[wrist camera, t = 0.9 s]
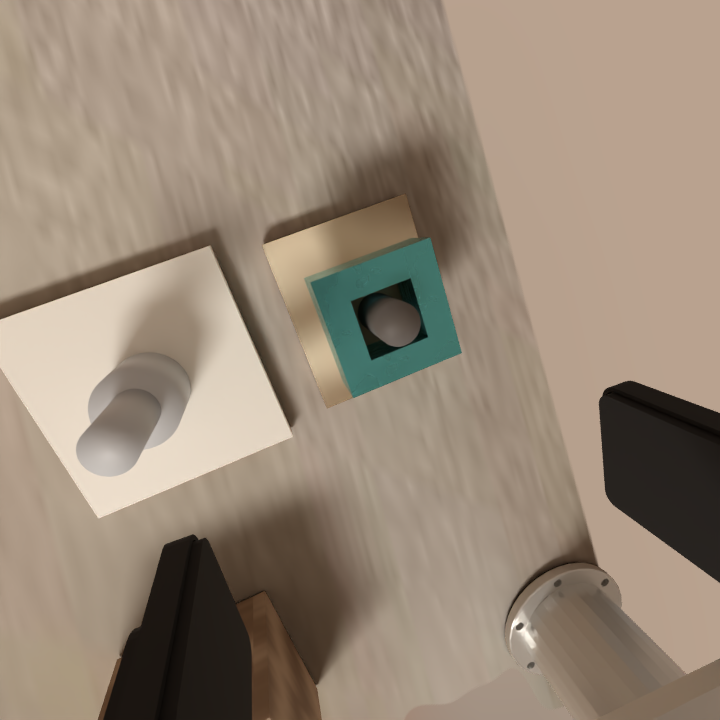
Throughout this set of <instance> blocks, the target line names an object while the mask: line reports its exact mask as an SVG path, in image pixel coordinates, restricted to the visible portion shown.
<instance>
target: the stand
mask: <svg viewBox="0 0 720 720" xmlns="http://www.w3.org/2000/svg"><path fill="white" fill-rule="evenodd" d="M410 238H418V235H417V232H416V228H415V225H414V221H413V217H412V214H411V210H410V207H409V203H408V200H407V196H406V194H403V195H400V196H397V197H394V198H391V199H389V200H386V201H383V202H380V203H378V204H375V205H372V206H369V207H366V208H364V209H361V210H358V211H355V212H352V213H350V214H347V215H344V216H341V217H338V218H336V219H333V220H330V221H327V222H324V223H322V224H319V225H316V226H313V227H311V228H308V229H305V230H302V231H299V232H297V233H294V234H291V235H288V236H285V237H283V238H280V239H277V240H274V241H271V242H269V243H266V244H263V245H262V247H263V249H264V252H265V254H266V257H267V259H268V262H269V264H270V267H271V269H272V272H273V274H274V277H275V279H276V282H277V284H278V287H279V289H280V292H281V294H282V297H283V300H284V302H285V305H286V307H287V310H288V312H289V315H290V317H291V320H292V322H293V325H294V327H295V330H296V332H297V335H298V337H299V340H300V342H301V345H302V347H303V350H304V352H305V355H306V357H307V360H308V362H309V365H310V367H311V370H312V372H313V375H314V377H315V380H316V382H317V385H318V387H319V390H320V392H321V395H322V397H323V400H324V402H325V405H326V407H327V408H329V407H332V406H334V405H337V404H339V403H341V402H344V401H346V400H349V399H351V398H353V397H352V395H351V394H350V392H349V391H348V389H347V387H346V386H345V384H344V383H343V381H342V378H341V375H340V373H339V370H338V367H337V365H336V362H335V359H334V357H333V354H332V351H331V349H330V346H329V343H328V341H327V338H326V336H325V333H324V330H323V328H322V325H321V322H320V320H319V317H318V314H317V312H316V309H315V306H314V304H313V301H312V298H311V296H310V293H309V290H308V288H307V285H306V282H305V280H304V278H305V277H308V276H311V275H314V274H316V273H319V272H322V271H324V270H327V269H330V268H332V267H335V266H338V265H340V264H343V263H346V262H348V261H351V260H354V259H356V258H359V257H362V256H364V255H367V254H370V253H372V252H375V251H378V250H381V249H383V248H386V247H389V246H391V245H394V244H397V243H399V242H402V241H405V240H407V239H410ZM351 304H352V307H353V309H354V312H355V315H356V318H357V321H358V324H359V327H360V330H361V332H362V335H363V338H364V341H365V344H366V346H367V345H369V344H372V343H374V342H377V341H379V340H382V341H384V342H385V343H387V344H388V345H391V346H394V347H401V346H405V345H407V344H409V343H410V342H412V341H413V340H414V339H415V338H416V336H417V335H418V333H419V330H420V325H421V321H420V316H419V313H418V311H417V310H416V309H415V308H414V307H413V306H412V305H410V304H408V303H406V302H403V301H402V298H401V295H400V292H399V288H398V285H397V284H394V285H391V286H389V287H386V288H384V289H381V290H378V291H376V292H373V293H371V294H368V295H366V296H363V297H360V298H358V299H355V300H353V301H351Z"/></svg>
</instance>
